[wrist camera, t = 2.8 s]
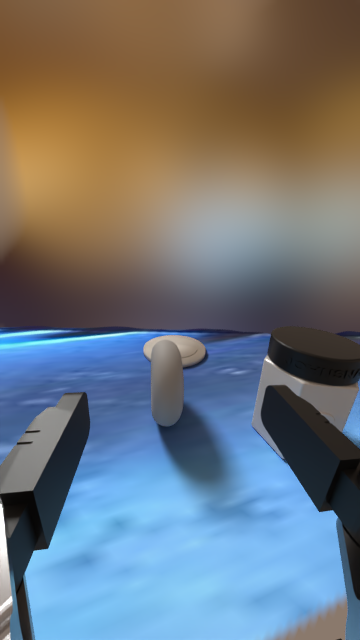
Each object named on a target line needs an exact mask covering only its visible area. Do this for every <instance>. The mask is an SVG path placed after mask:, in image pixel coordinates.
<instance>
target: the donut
mask: <svg viewBox="0 0 360 640" xmlns="http://www.w3.org/2000/svg"><path fill="white" fill-rule="evenodd" d="M183 401H184V378H183V366H182V359H181V355H180V351H179V349H178V347H177V345H176V344H175V343H174V342H172V341H170V340H161V341H159V342H157V343H156V344H155V345H154V346H153V348H152V353H151V409H152V416H153V418H154V420H155V421H156V422H157V423H158V424H160V425H162V426H171V425H173V424H175V423H176V422H177V421H178V420H179V418H180V415H181V413H182V410H183Z"/></svg>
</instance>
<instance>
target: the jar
mask: <svg viewBox="0 0 360 640" xmlns="http://www.w3.org/2000/svg"><path fill="white" fill-rule="evenodd" d="M359 379H360V345H359V344H357V343H355V342H353V341H351V340H349V339H347V338H344V337H342V336H339V335H336V334H333V333H329V332H326V331H321V330H317V329H312V328H305V327H291V326H290V327H280V328H276V329H275V330H273V331H272V333H271V337H270V342H269V347H268V355H267V356H266V358H265V359H264V363H263V368H262V373H261V378H260V383H259V388H258V393H257V399H256V404H255V409H254V414H253V419H252V426H253V428H254V429H255V430H256V431H257V432H258V433H259V434H260V435H261V436H262V437H263V439H264V440H265V441H266V442H267V443H268V444H269V445H270V446H271V447H272V448H273V449H274V451H275V452H276V453H277V454H278V455H279V456H280V457H281V458H282V459H285V458H284V457H283V455H282V454H281V452H280V451H279V449H278V447H277V446H276V444H275V443H274V441H273V440H272V438H271V437H270V435H269V434H268V432H267V431H266V429H265V427H264V426H263V423H262V420H261V408H262V403H263V399H264V394H265V390H266V387H267V386H268V385H286V386H288V387H289V388H290V389H291V390H292V391H293V392H294V393H295V394H296V395H297V396H299V397H301V398H303V399H304V400H306V401H307V402H309V403H311V404H312V405H313V406H314V407H315V408H316V409H317V410H318V411H319V412H320V413H321V415H323V416H325V417H326V418H327V419H328V420H329V421H330V423H332V424H333V425H334V426H335V427H336V428H337V429H338V430H339V431H341V432H343V429H344V427H345V424H346V421H347V419H348V416H349V414H350V411H351V409H352V406H353V404H354V401H355V399H356V396H357V393H358V391H359V387H358V381H359Z"/></svg>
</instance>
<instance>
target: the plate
mask: <svg viewBox="0 0 360 640" xmlns="http://www.w3.org/2000/svg"><path fill="white" fill-rule="evenodd" d="M161 340H170V341H172V342H174V343H175V344H176V345H177V347H178V349H179V351H180V355H181V359H182V366H183V367H188V366H192V365H195V364H197V363H199V362H200V361H202V360H203V358H204V357H205V347H204V345H203V344H202V343H201V342H199V341H198V340H196V339H193V338H190V337H186V336H179V335H167V336H160V337H156V338H154V339H151V340H150V341H148V342H147V343H146V344H145V345H144V356H145V358H146V359H147V360H149V361H150V362H151V353H152V348H153V346H154V345H155V344H156V343H157V342H159V341H161Z"/></svg>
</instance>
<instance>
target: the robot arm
mask: <svg viewBox="0 0 360 640" xmlns="http://www.w3.org/2000/svg"><path fill="white" fill-rule="evenodd" d="M261 420H262V423H263V426H264V427H265V429H266V431H267V432H268V434H269V435H270V437H271V438H272V440H273V441H274V443H275V444H276V446H277V447H278V449H279V451H280V452H281V454H282V455H283V457H284V458H285V460H286V461H287V463H288V464H289V466H290V468H291V469H292V471H293V472H294V474H295V475H296V477H297V478H298V480H299V481H300V483H301V485H302V486H303V488H304V489H305V491H306V492H307V494H308V495H309V497H310V498H311V500H312V501H313V503H314V505H315V506H316V508H317V509H318V511H319V512H323V511H330V510H333V511H334V512H335V513H336V515H337V516H338V518H337V521H336V528H337V534H338V541H339V548H340V554H341V561H342V568H343V574H344V581H345V588H346V594H347V603H348V615H347V622H346V640H360V449H359V448H358V447H357V446H355V445H354V444H353V443H352V442H351V441H350V440H349V439H348V438H347V437H346V436H345V435H344V434H343V433H342V432H341V431H339V430H338V429H337V428H336V427H335V426H334V425H333V424H332V423H330V421H329V420H328V419H327V418H326V417H325V416H323V415H321V413H320V412H319V411H318V410H317V409H316V408H315V407H314V406H313V405H312V404H311V403H309V402H307V401H306V400H304V399H303V398H301V397H299V396H297V395H296V394H295V393H294V392H293V391H292V390H291V389H290V388H289V387H288V386H286V385H268V386H267V387H266V390H265V394H264V399H263V403H262V408H261ZM89 430H90V417H89V408H88V399H87V394H86V393H85V392H80V393H65V394H64V395H63V396H62V398H61V399H60V401H59V402H58V404H57V405H56V407H48V408H47V409H46V410H45V411H43V412H42V413H41V414H40V415H38V416H37V417H36V418H35V419H34V420H33V422H32V423H31V424H30V426H29V427H28V428H27V430H26V432H25V434H23V435H22V437H21V438H20V439H19V441H18V442H17V445H16V446H14V448H13V449H12V450H11V452H10V453H9V454H8V456H7V457H6V459H5V460H4V461H3V463H2V464H1V465H0V640H35V635H34V629H33V623H32V616H31V610H30V603H29V597H28V590H27V584H26V577H25V571H26V568H27V566H28V563H29V561H30V558H31V556H32V553H33V551H35V550H42V549H48V547H49V545H50V542H51V539H52V536H53V534H54V531H55V528H56V525H57V522H58V520H59V517H60V514H61V511H62V509H63V506H64V503H65V500H66V497H67V495H68V492H69V489H70V486H71V484H72V481H73V478H74V475H75V472H76V470H77V467H78V464H79V461H80V459H81V456H82V453H83V450H84V447H85V445H86V442H87V439H88V436H89ZM338 640H342V639H338Z"/></svg>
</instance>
